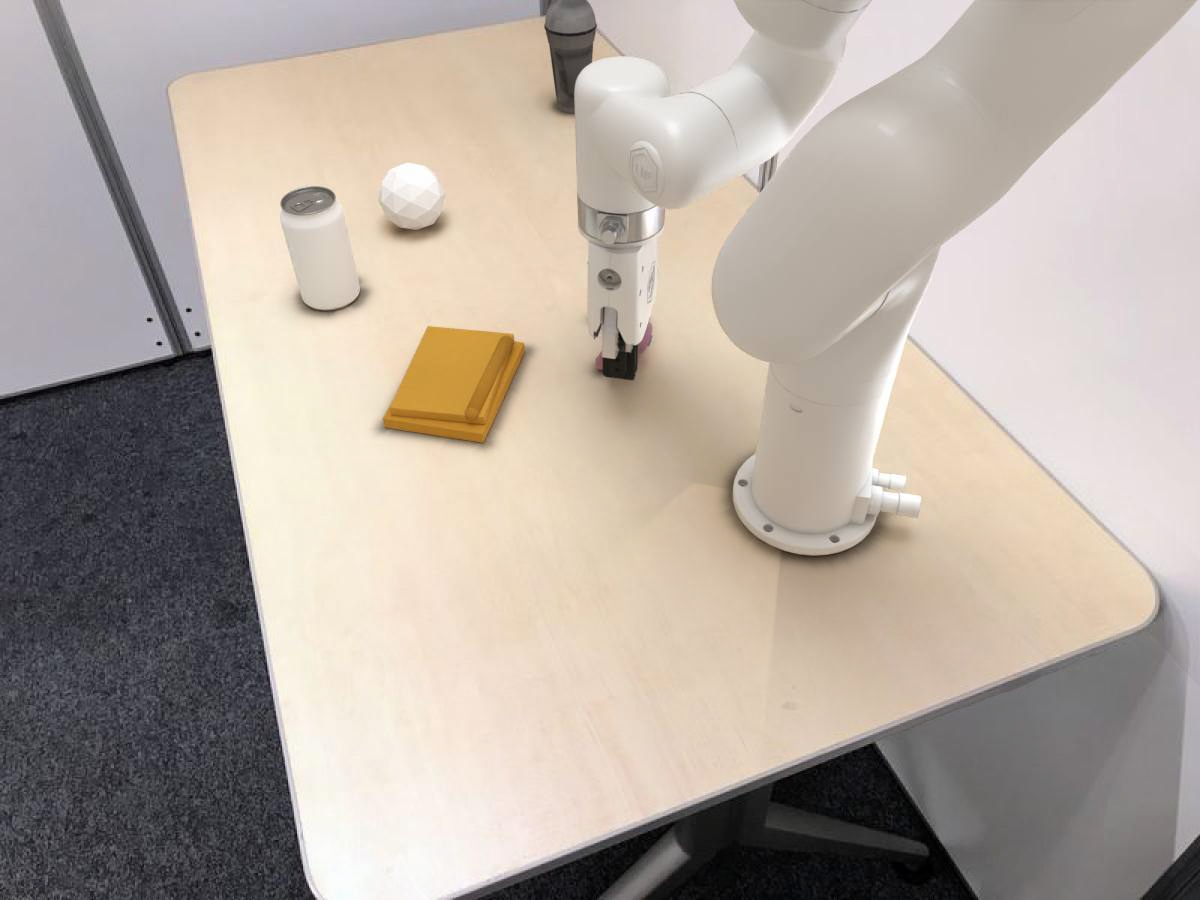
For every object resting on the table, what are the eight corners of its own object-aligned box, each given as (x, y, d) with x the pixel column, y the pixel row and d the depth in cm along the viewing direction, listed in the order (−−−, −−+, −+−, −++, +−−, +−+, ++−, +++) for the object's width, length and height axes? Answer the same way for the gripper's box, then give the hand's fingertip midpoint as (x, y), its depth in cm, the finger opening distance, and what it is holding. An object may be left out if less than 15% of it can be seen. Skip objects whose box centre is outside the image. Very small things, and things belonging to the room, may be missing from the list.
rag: (525, 351, 101) (523, 329, 99) (483, 443, 91) (480, 420, 89) (432, 338, 102) (428, 316, 100) (382, 427, 93) (376, 404, 91)
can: (372, 293, 108) (352, 198, 100) (325, 320, 105) (299, 223, 97) (338, 271, 111) (315, 177, 103) (290, 296, 108) (263, 200, 100)
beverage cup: (597, 117, 138) (595, -31, 124) (546, 117, 138) (539, -31, 124) (598, 94, 143) (596, -50, 129) (549, 95, 144) (542, -50, 129)
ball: (428, 234, 122) (454, 176, 120) (427, 247, 115) (455, 185, 112) (371, 207, 120) (397, 147, 117) (366, 218, 112) (393, 155, 110)
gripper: (648, 264, 77) (642, 430, 90) (678, 172, 87) (670, 332, 100) (557, 253, 78) (564, 418, 91) (598, 163, 89) (599, 323, 102)
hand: (620, 373), depth 96 cm, fingers closed
